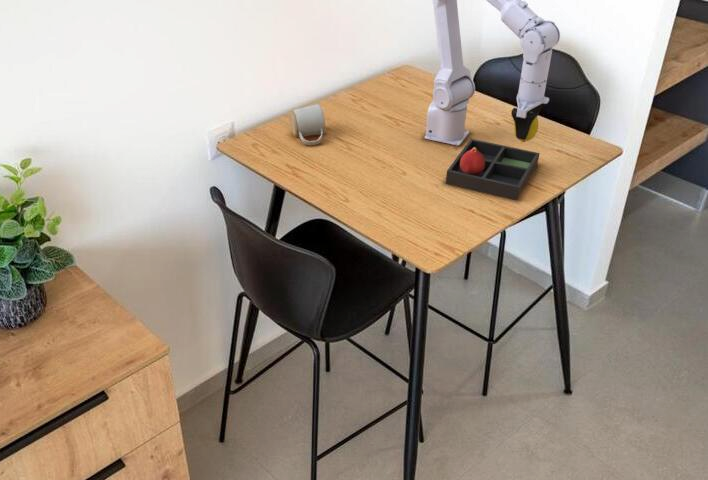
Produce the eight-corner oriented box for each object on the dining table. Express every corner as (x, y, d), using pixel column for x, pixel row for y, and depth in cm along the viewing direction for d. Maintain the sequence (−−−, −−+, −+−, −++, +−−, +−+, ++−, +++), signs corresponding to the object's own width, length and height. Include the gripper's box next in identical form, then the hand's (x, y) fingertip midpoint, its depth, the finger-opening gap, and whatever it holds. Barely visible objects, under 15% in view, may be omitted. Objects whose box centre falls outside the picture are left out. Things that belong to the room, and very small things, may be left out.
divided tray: (445, 183, 181) (446, 170, 179) (469, 150, 192) (470, 138, 190) (517, 200, 174) (519, 187, 172) (537, 165, 186) (539, 153, 184)
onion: (455, 171, 184) (458, 142, 179) (479, 169, 184) (483, 140, 179) (461, 184, 179) (465, 154, 174) (486, 182, 180) (490, 152, 175)
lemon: (536, 148, 179) (541, 117, 173) (511, 146, 179) (516, 115, 174) (535, 136, 183) (540, 106, 178) (511, 135, 184) (515, 104, 179)
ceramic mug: (289, 129, 204) (287, 103, 200) (318, 125, 206) (317, 98, 201) (299, 149, 197) (298, 122, 192) (329, 144, 198) (329, 117, 193)
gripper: (543, 94, 165) (533, 150, 173) (559, 68, 174) (549, 122, 183) (510, 88, 167) (502, 143, 176) (529, 63, 177) (520, 117, 186)
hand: (524, 132), depth 180 cm, fingers closed on lemon, 5 cm apart
